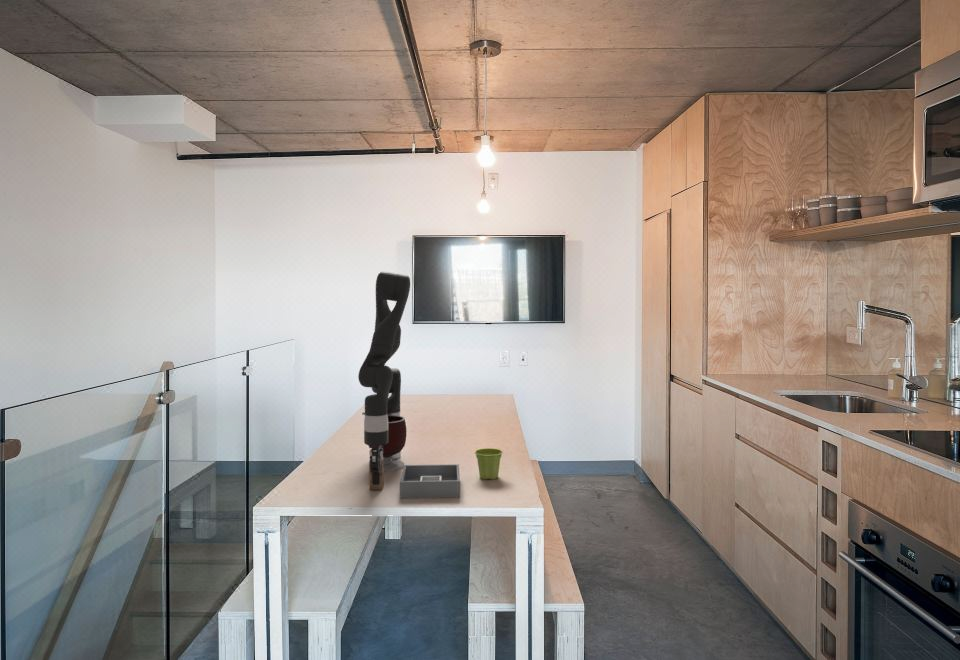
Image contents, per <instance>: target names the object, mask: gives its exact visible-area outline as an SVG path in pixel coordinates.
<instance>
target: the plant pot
mask: <svg viewBox="0 0 960 660" xmlns="http://www.w3.org/2000/svg"><path fill="white" fill-rule="evenodd" d="M503 453H504V451H503V450H501V449H500V448H499V449H498V448H491V447H490V448H488V447H487V448H478V449H476V450H474V454H475V456H476V459H477V465H478V474H479V478H481V479H483V480H488V479H489V480H495V479H498V477H499V472H500V471H499V470H500V464H501V458H502V454H503Z"/></svg>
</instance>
